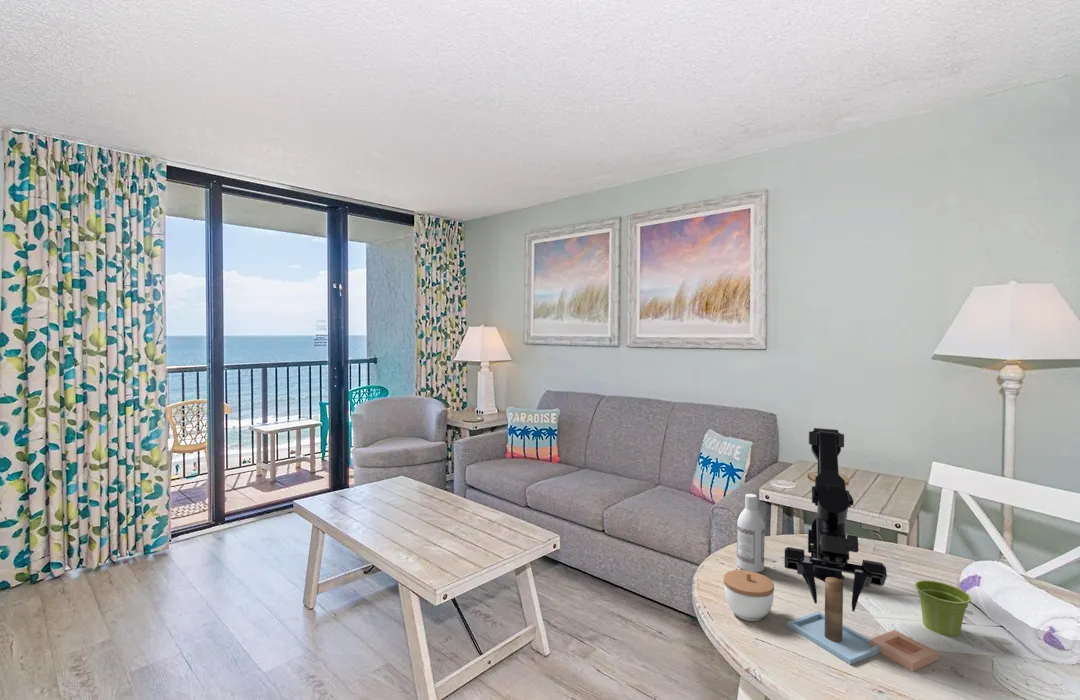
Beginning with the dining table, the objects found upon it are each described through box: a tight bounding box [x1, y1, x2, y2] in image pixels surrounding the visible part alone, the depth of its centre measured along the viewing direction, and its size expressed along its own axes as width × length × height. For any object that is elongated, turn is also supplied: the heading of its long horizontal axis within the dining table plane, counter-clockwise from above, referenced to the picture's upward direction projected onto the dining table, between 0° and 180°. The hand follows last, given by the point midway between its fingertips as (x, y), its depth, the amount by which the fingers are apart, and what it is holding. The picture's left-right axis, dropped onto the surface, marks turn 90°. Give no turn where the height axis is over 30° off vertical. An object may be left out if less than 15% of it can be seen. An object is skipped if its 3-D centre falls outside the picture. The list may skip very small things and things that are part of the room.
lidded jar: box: [723, 569, 775, 622], centre depth 114 cm, size 11×11×9 cm
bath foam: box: [736, 493, 766, 573], centre depth 137 cm, size 7×7×20 cm
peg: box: [824, 577, 844, 642], centre depth 104 cm, size 3×3×12 cm
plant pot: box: [914, 579, 972, 637], centre depth 108 cm, size 9×9×9 cm
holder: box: [869, 629, 939, 672], centre depth 99 cm, size 8×8×2 cm
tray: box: [786, 611, 881, 666], centre depth 104 cm, size 14×10×2 cm
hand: (834, 606), depth 103 cm, fingers open, 6 cm apart
